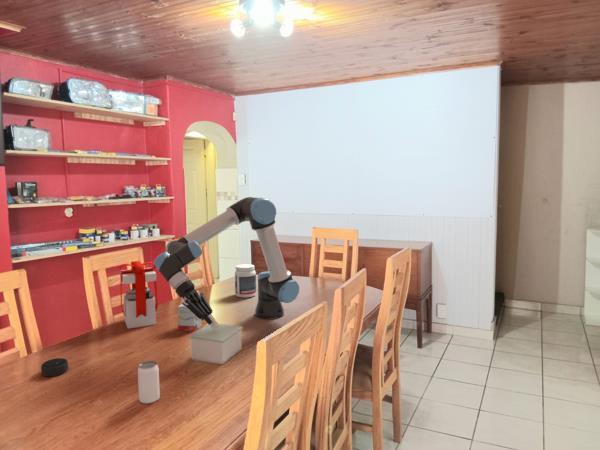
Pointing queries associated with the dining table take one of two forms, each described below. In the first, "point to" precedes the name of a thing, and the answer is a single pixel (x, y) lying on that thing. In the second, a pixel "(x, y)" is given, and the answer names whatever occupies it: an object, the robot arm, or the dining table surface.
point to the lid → (216, 333)
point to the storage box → (215, 349)
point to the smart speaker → (54, 367)
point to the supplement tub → (245, 281)
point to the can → (148, 382)
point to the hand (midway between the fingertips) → (217, 328)
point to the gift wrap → (139, 295)
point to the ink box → (187, 319)
